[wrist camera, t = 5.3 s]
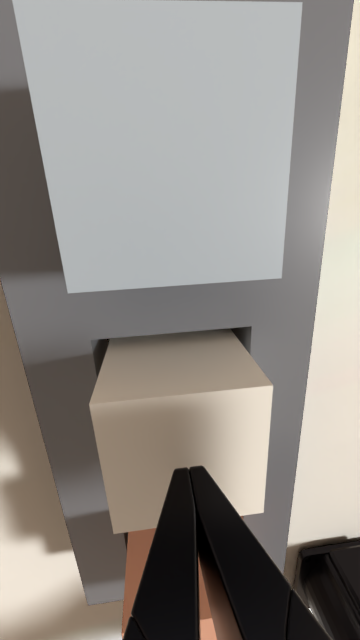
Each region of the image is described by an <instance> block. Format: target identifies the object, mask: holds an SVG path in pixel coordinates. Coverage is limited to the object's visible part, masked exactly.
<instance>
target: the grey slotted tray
mask: <svg viewBox="0 0 360 640" xmlns="http://www.w3.org/2000/svg"><path fill="white" fill-rule="evenodd" d="M182 1H252V2H303V3H302V17H301V30H300V43H299V56H298V69H297V82H296V95H295V109H294V122H293V135H292V148H291V161H290V174H289V187H288V201H287V214H286V227H285V240H284V253H283V266H282V278H278V279H264V280H250V281H235V282H221V283H207V284H193V285H179V286H165V287H151V288H137V289H123V290H108V291H94V292H80V293H68V292H67V286H66V281H65V276H64V271H63V265H62V260H61V255H60V249H59V244H58V239H57V234H56V228H55V223H54V218H53V213H52V207H51V202H50V197H49V191H48V186H47V181H46V176H45V170H44V165H43V160H42V155H41V149H40V144H39V139H38V133H37V128H36V123H35V118H34V112H33V107H32V102H31V97H30V91H29V86H28V81H27V75H26V70H25V65H24V60H23V54H22V49H21V44H20V39H19V33H18V28H17V23H16V17H15V12H14V7H13V2H12V0H0V279H1V283H2V287H3V291H4V294H5V298H6V302H7V306H8V309H9V313H10V317H11V320H12V324H13V328H14V332H15V335H16V339H17V343H18V346H19V350H20V354H21V358H22V361H23V365H24V369H25V372H26V376H27V380H28V384H29V387H30V391H31V395H32V398H33V402H34V406H35V410H36V413H37V417H38V421H39V424H40V428H41V432H42V436H43V439H44V443H45V447H46V450H47V454H48V458H49V462H50V465H51V469H52V473H53V476H54V480H55V484H56V488H57V491H58V495H59V499H60V502H61V506H62V510H63V514H64V517H65V521H66V525H67V528H68V532H69V536H70V540H71V543H72V547H73V551H74V555H75V558H76V562H77V566H78V569H79V573H80V577H81V581H82V584H83V588H84V592H85V595H86V599H87V603H88V605H94V604H101V603H107V602H113V601H119V600H124V588H125V573H126V558H127V543H128V532H124V533H117V534H114V533H113V528H112V523H111V518H110V512H109V507H108V502H107V497H106V491H105V486H104V481H103V475H102V470H101V465H100V460H99V454H98V449H97V444H96V438H95V433H94V428H93V423H92V417H91V412H90V407H89V403H90V400H91V397H92V394H93V391H94V388H95V385H96V382H97V378H98V375H99V372H100V369H101V366H102V363H103V360H104V357H105V354H106V351H107V348H108V344H107V339H108V338H120V337H132V336H144V335H155V334H167V333H179V332H191V331H202V330H214V329H226V328H230V329H231V330H232V332H233V333H234V334H235V336H236V337H237V338H238V340H239V341H240V342H241V343H242V345H243V346H244V347H245V349H246V350H247V351H248V353H249V354H250V355H251V357H252V358H253V359H254V361H255V362H256V363H257V365H258V366H259V367H260V369H261V370H262V371H263V373H264V374H265V375H266V377H267V378H268V379H269V380H270V382H271V383H272V384H273V395H272V408H271V421H270V434H269V447H268V461H267V474H266V487H265V500H264V513H258V514H251V515H244V516H243V520H244V522H245V523H246V524H247V526H248V527H249V528H250V530H251V531H252V533H253V534H254V535H255V537H256V538H257V539H258V541H259V542H260V543H261V545H262V546H263V548H264V549H265V550H266V552H267V553H268V554H269V556H270V557H271V558H272V560H273V561H274V563H275V564H276V565H277V567H278V568H279V569H280V571H281V572H282V573H284V565H285V557H286V549H287V541H288V533H289V524H290V516H291V508H292V500H293V492H294V484H295V476H296V467H297V459H298V451H299V443H300V435H301V427H302V419H303V410H304V402H305V394H306V386H307V378H308V370H309V362H310V353H311V345H312V337H313V329H314V321H315V313H316V305H317V296H318V288H319V280H320V272H321V264H322V256H323V248H324V239H325V231H326V223H327V215H328V207H329V199H330V191H331V182H332V174H333V166H334V158H335V150H336V142H337V134H338V125H339V117H340V109H341V101H342V93H343V85H344V77H345V69H346V60H347V52H348V44H349V36H350V28H351V20H352V12H353V3H354V0H182Z"/></svg>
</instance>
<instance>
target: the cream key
mask: <svg viewBox="0 0 360 640" xmlns="http://www.w3.org/2000/svg"><path fill="white" fill-rule="evenodd" d="M272 395H273V384H272V383H271V382H270V380H269V379H268V378H267V377H266V375H265V374H264V373H263V371H262V370H261V369H260V367H259V366H258V365H257V363H256V362H255V361H254V359H253V358H252V357H251V355H250V354H249V353H248V351H247V350H246V349H245V347H244V346H243V345H242V343H241V342H240V341H239V340H238V338H237V337H236V336H235V334H234V333H233V332H232V330H231V329H230V328H226V329H214V330H202V331H191V332H179V333H167V334H155V335H144V336H132V337H120V338H110V341H109V345H108V348H107V351H106V354H105V357H104V360H103V363H102V366H101V369H100V372H99V375H98V378H97V382H96V385H95V388H94V391H93V394H92V397H91V400H90V403H89V407H90V412H91V417H92V423H93V428H94V433H95V438H96V444H97V449H98V454H99V460H100V465H101V470H102V475H103V481H104V486H105V491H106V497H107V502H108V507H109V512H110V518H111V523H112V528H113V533H114V534H117V533H124V532H131V531H138V530H145V529H152V528H156V527H157V524H158V520H159V517H160V514H161V510H162V507H163V504H164V501H165V497H166V494H167V491H168V487H169V484H170V481H171V477H172V474H173V471H174V469H176V468H184V467H187V468H188V469H189V468H190V467H192V466H200V465H202V466H204V467H205V468H206V470H207V471H208V473H209V474H210V475H211V477H212V478H213V479H214V481H215V482H216V483H217V485H218V486H219V488H220V489H221V490H222V492H223V493H224V494H225V496H226V497H227V498H228V500H229V501H230V503H231V504H232V505H233V507H234V508H235V509H236V511H237V512H238V513H239V515H240V516H244V515H251V514H258V513H264V500H265V487H266V474H267V461H268V447H269V434H270V421H271V408H272Z"/></svg>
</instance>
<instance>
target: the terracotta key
mask: <svg viewBox="0 0 360 640" xmlns="http://www.w3.org/2000/svg"><path fill="white" fill-rule="evenodd" d="M241 518H242V519H243V516H241ZM155 530H156V528H152V529H145V530H138V531H131V532H128V543H127V558H126V573H125V588H124V604H123V619H122V638H123V636H124V633H125V629H126V626H127V623H128V619H129V617H130V616H131V610H132V607H133V603H134V600H135V597H136V593H137V590H138V587H139V584H140V580H141V577H142V574H143V570H144V567H145V564H146V560H147V557H148V554H149V550H150V547H151V544H152V540H153V537H154V534H155ZM198 564H199V595H200V628H201V640H217V637H216V633H215V628H214V624H213V620H212V615H211V611H210V607H209V602H208V598H207V594H206V589H205V585H204V581H203V576H202V572H201V567H200V563H199V557H198Z"/></svg>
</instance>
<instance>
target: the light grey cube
mask: <svg viewBox="0 0 360 640" xmlns="http://www.w3.org/2000/svg"><path fill="white" fill-rule="evenodd" d="M12 2H13V7H14V12H15V17H16V23H17V28H18V33H19V39H20V44H21V49H22V54H23V60H24V65H25V70H26V75H27V81H28V86H29V91H30V97H31V102H32V107H33V112H34V118H35V123H36V128H37V133H38V139H39V144H40V149H41V155H42V160H43V165H44V170H45V176H46V181H47V186H48V191H49V197H50V202H51V207H52V213H53V218H54V223H55V228H56V234H57V239H58V244H59V249H60V255H61V260H62V265H63V271H64V276H65V281H66V286H67V292H68V293H80V292H94V291H108V290H123V289H137V288H151V287H165V286H179V285H193V284H207V283H221V282H235V281H250V280H264V279H278V278H282V266H283V253H284V240H285V227H286V214H287V201H288V187H289V174H290V161H291V148H292V135H293V122H294V109H295V95H296V82H297V69H298V56H299V43H300V30H301V17H302V3H303V2H252V1H182V0H12Z"/></svg>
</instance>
